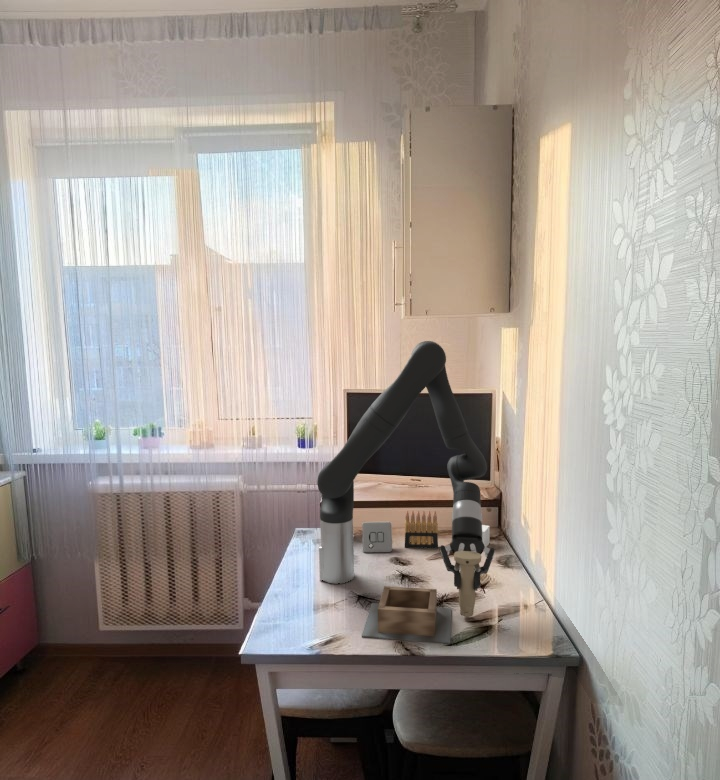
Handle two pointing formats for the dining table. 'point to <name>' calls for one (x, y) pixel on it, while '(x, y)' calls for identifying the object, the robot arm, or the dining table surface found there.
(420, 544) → the ammunition clip
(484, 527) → the white cube
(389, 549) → the electrical switch
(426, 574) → the dining table surface
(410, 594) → the socket holder
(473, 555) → the handle
